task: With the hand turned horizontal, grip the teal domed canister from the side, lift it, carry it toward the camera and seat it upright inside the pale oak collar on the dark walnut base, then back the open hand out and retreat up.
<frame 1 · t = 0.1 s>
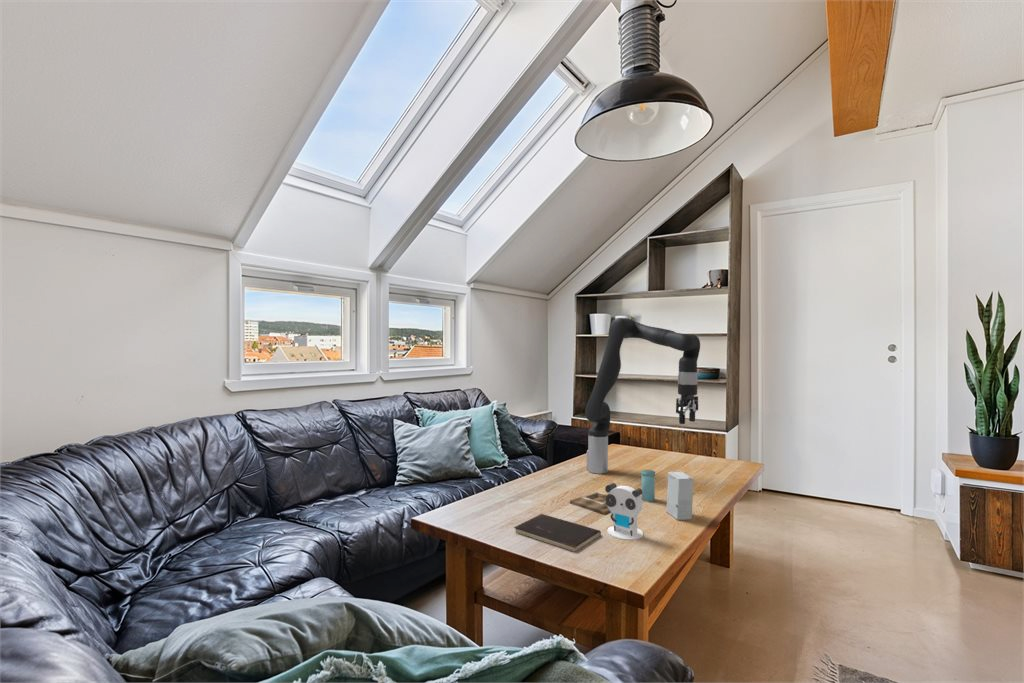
hand: (687, 422, 194), 29 cm above the table, tool pointing down, fingers open, 8 cm apart
skincare box: (679, 516, 170), on the table
teal domed canister: (648, 499, 187), on the table
collar base: (599, 503, 182), on the table
panda figurine: (624, 533, 155), on the table
hardcover book: (557, 536, 154), on the table
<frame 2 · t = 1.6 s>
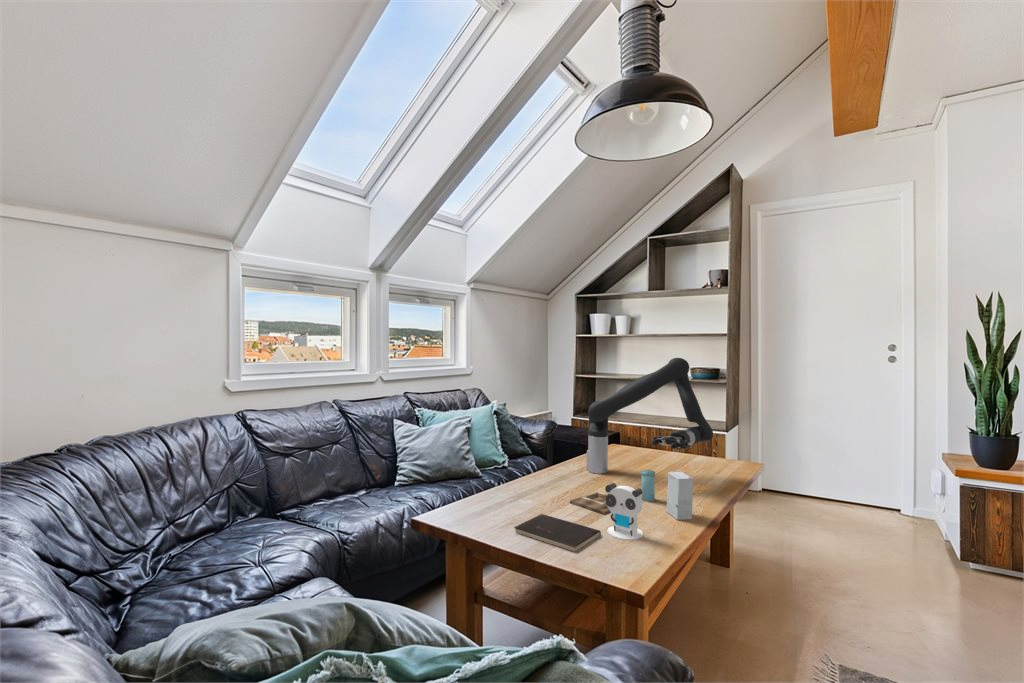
hand: (662, 444, 194), 20 cm above the table, tool horizontal, fingers open, 8 cm apart
nothing on the table moved.
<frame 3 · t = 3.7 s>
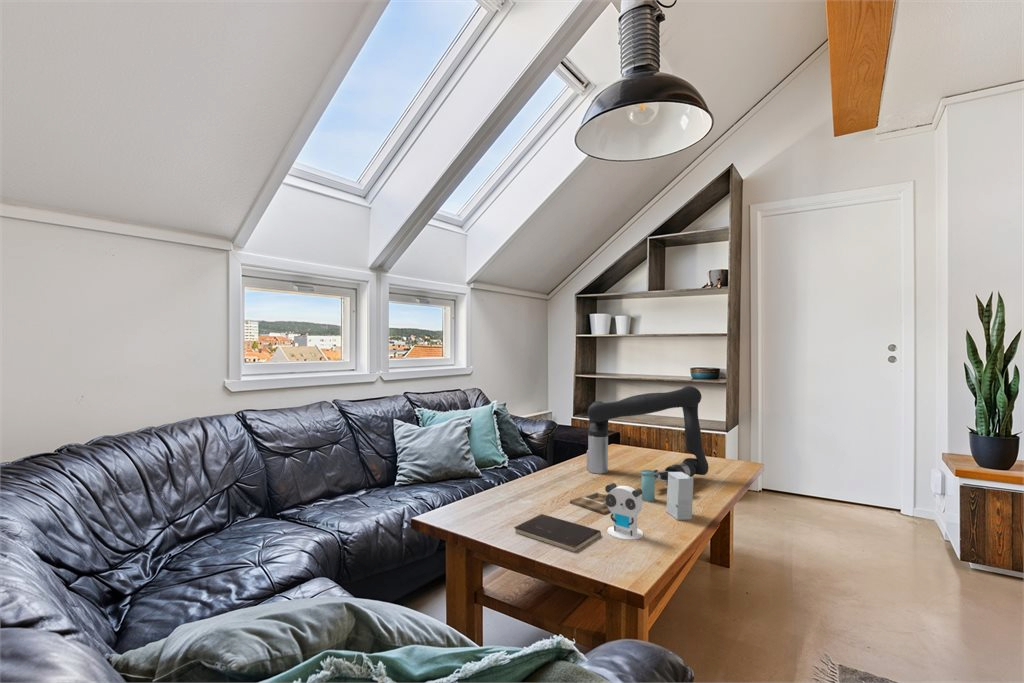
hand: (657, 480, 192), 6 cm above the table, tool horizontal, fingers open, 8 cm apart
nothing on the table moved.
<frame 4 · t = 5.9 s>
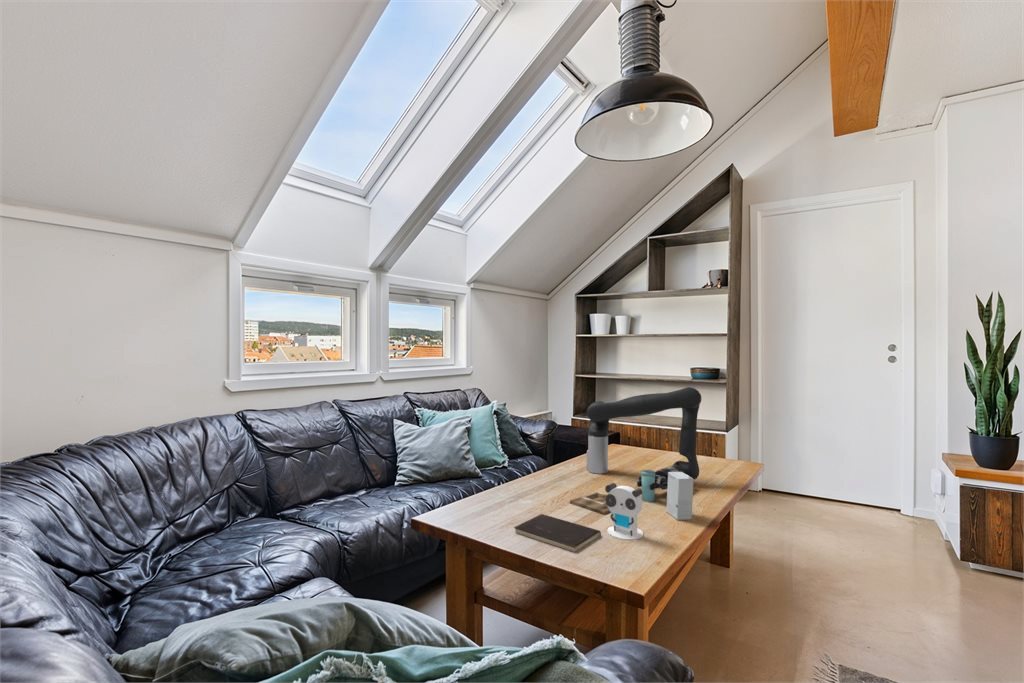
hand: (644, 485, 185), 6 cm above the table, tool horizontal, fingers closed on teal domed canister, 5 cm apart
teal domed canister: (648, 499, 187), on the table, touching gripper
everything else where it was.
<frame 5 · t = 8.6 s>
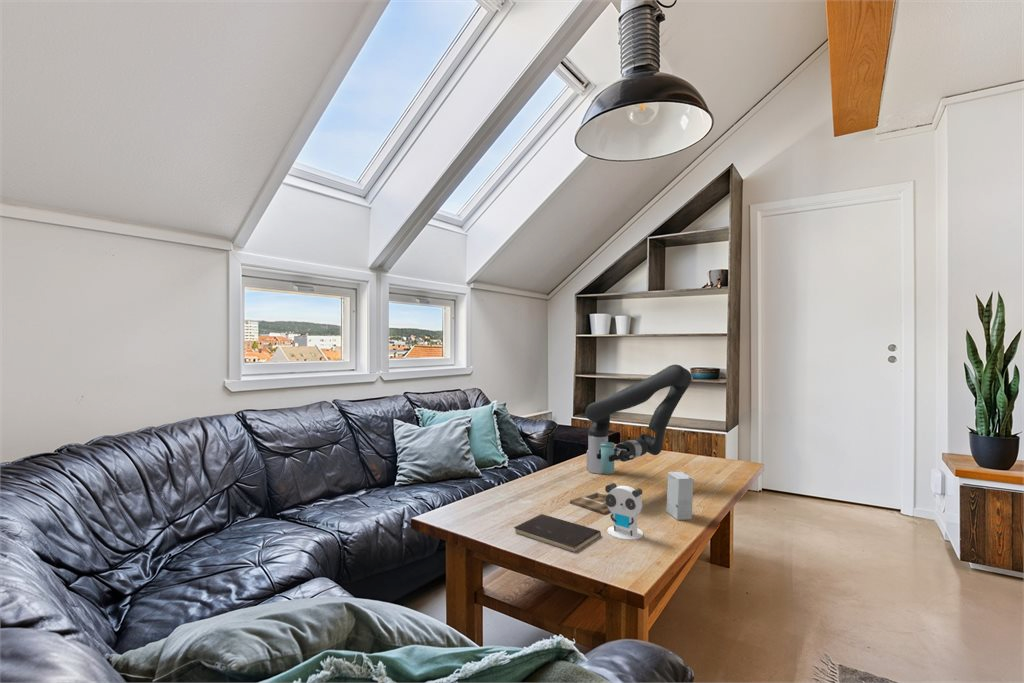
hand: (603, 457, 181), 18 cm above the table, tool horizontal, fingers closed on teal domed canister, 5 cm apart
teal domed canister: (607, 472, 182), point 12 cm above the table, touching gripper
everything else where it was.
when the fingers open (9 cm above the table, at t = 11.4 s): teal domed canister drops 2 cm, resting on collar base.
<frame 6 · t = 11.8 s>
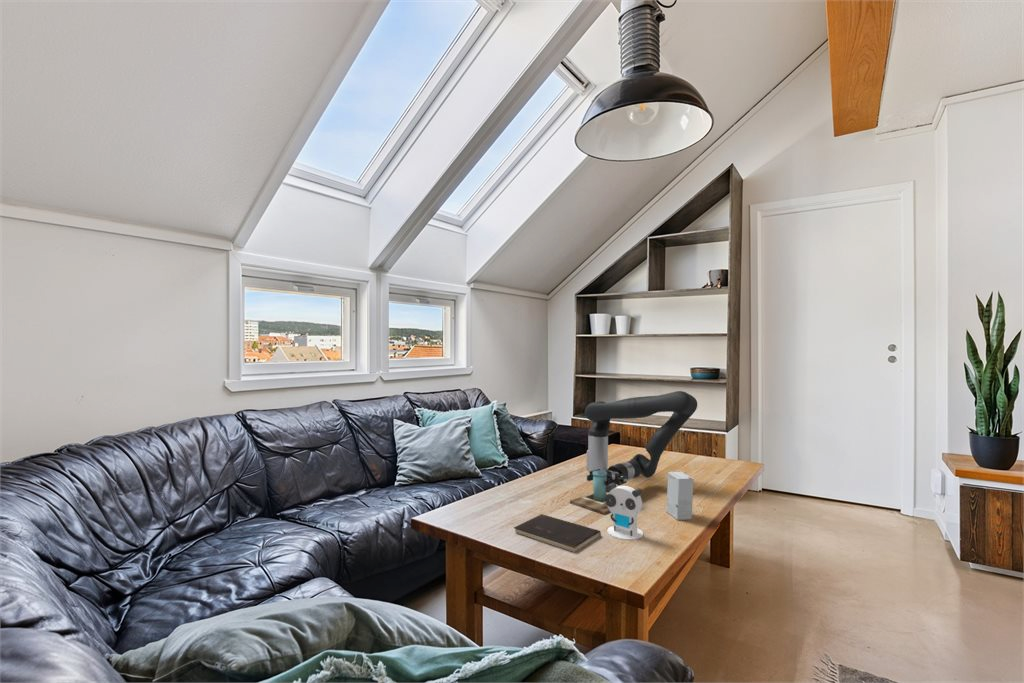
hand: (596, 480, 181), 9 cm above the table, tool horizontal, fingers open, 8 cm apart
teal domed canister: (599, 501, 182), point 1 cm above the table, touching collar base
everything else where it was.
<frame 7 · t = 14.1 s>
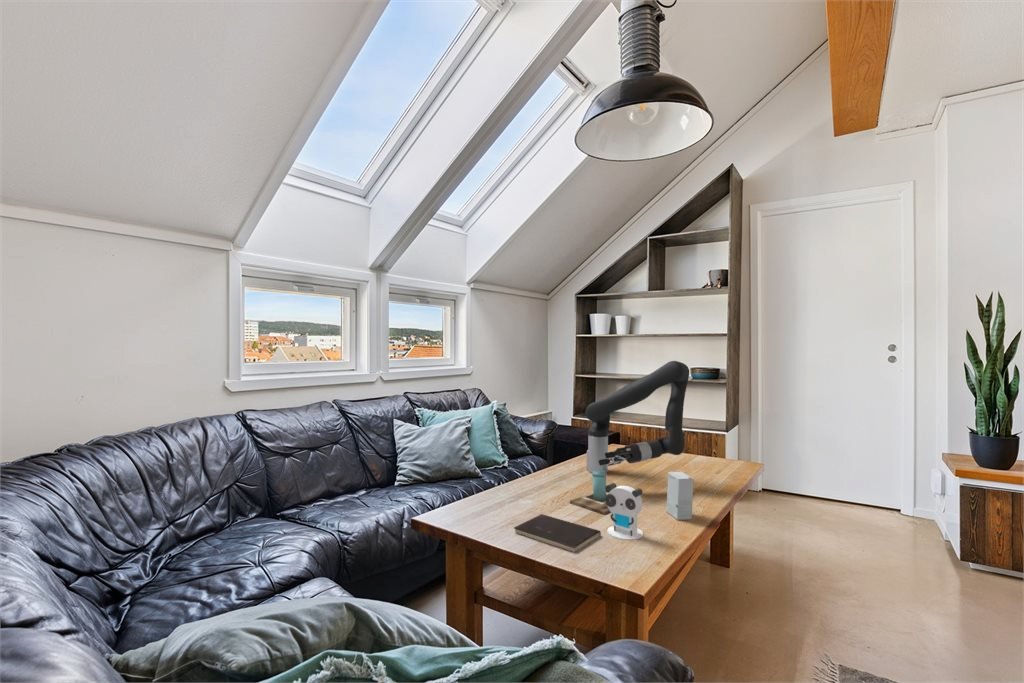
hand: (602, 459, 194), 14 cm above the table, tool horizontal, fingers open, 8 cm apart
nothing on the table moved.
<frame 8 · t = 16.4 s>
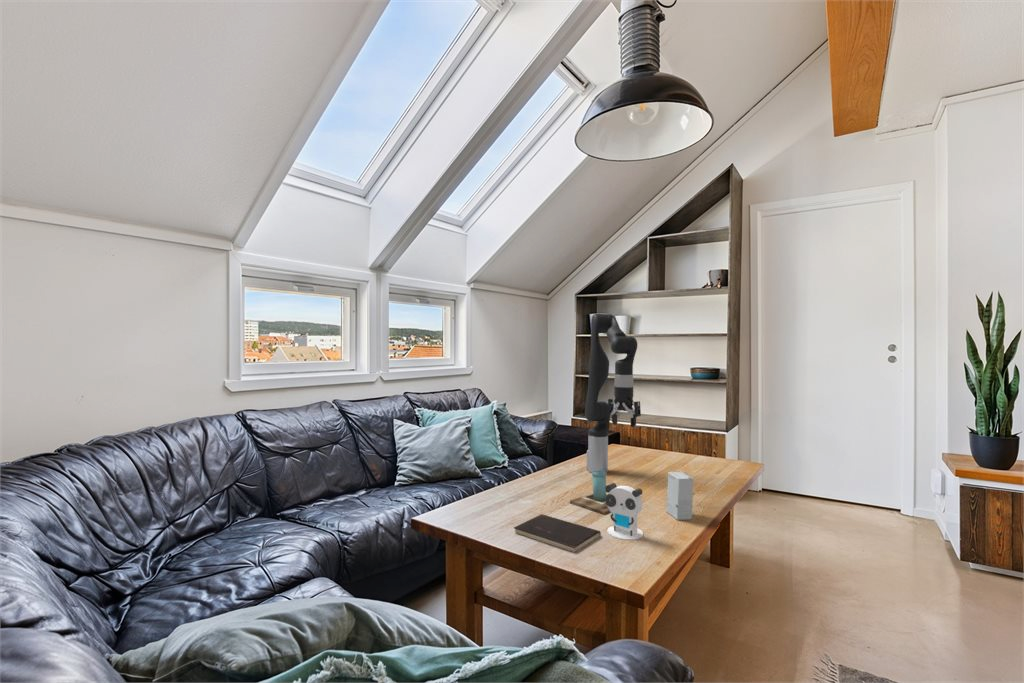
hand: (623, 425, 193), 28 cm above the table, tool pointing down, fingers open, 8 cm apart
nothing on the table moved.
at the end: teal domed canister inside the target area on the collar base (0.1 cm from its centre), point 1.1 cm above the collar base's base; teal domed canister tilted 2°; the gripper is holding nothing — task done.
